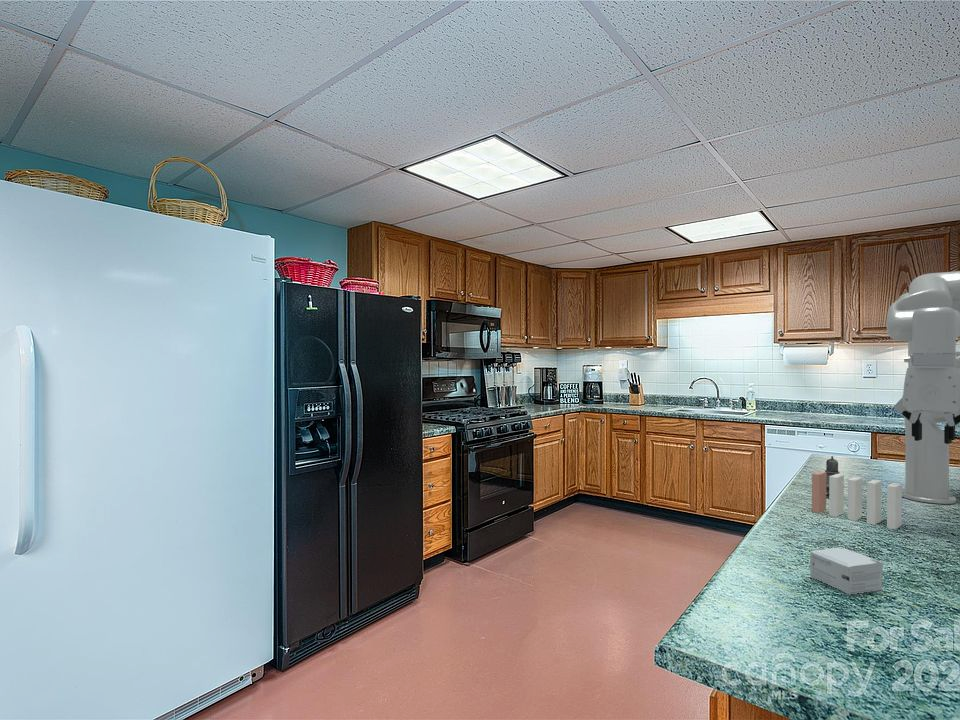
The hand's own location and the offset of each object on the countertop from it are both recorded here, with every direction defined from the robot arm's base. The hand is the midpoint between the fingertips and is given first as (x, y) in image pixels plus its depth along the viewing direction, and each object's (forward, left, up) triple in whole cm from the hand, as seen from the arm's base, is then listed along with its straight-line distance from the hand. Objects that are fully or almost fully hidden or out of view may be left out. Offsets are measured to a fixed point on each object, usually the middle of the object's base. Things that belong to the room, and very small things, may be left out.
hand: (932, 440), depth 119 cm
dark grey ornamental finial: (-18, -26, -22) cm, 38 cm away
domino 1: (0, -19, -21) cm, 29 cm away
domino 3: (0, -11, -21) cm, 24 cm away
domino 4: (0, -7, -21) cm, 22 cm away
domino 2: (0, -15, -21) cm, 26 cm away
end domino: (0, -23, -21) cm, 31 cm away
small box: (+46, -3, -22) cm, 51 cm away
